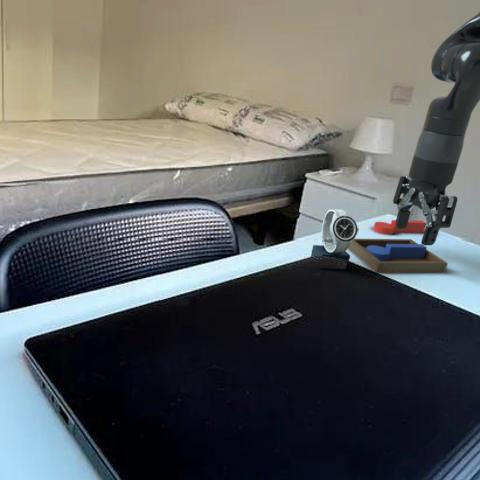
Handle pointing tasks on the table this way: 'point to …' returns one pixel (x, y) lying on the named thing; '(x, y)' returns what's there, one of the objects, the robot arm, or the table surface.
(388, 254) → the blue spoon
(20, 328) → the table surface
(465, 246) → the table surface
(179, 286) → the table surface
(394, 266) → the tray
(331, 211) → the watch
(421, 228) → the red spoon
